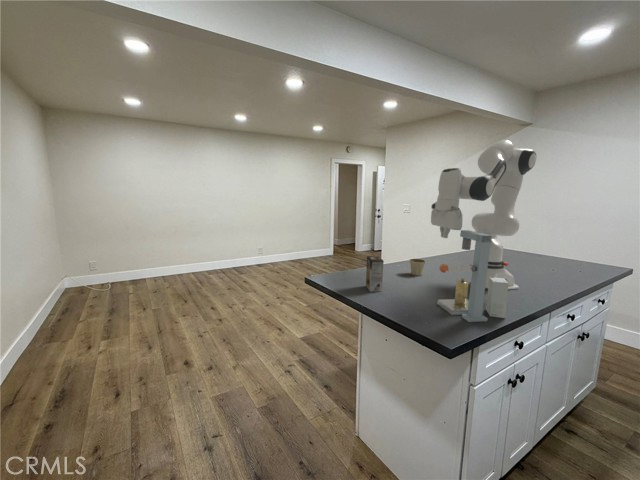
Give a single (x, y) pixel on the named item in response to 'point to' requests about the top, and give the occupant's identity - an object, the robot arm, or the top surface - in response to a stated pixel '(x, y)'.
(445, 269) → the lever
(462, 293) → the cylinder
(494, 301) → the skincare box
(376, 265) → the coffee box
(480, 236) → the frame
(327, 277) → the top surface
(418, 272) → the flower pot
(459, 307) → the press bed
